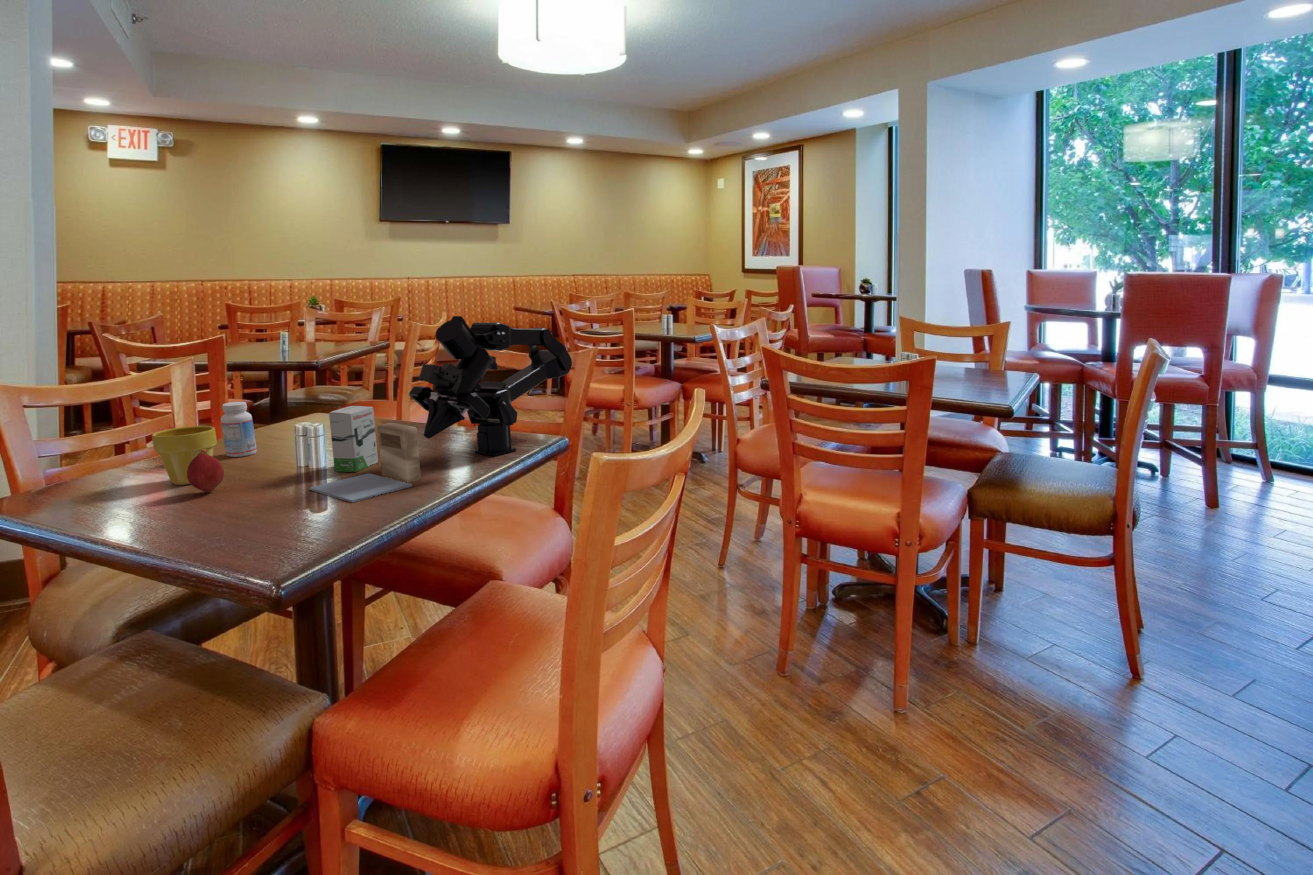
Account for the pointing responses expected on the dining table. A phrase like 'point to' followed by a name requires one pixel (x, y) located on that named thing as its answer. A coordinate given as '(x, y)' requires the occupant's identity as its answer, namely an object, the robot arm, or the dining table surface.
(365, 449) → the ink box
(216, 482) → the onion
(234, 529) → the dining table surface
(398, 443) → the maple slab
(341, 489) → the rubber mat
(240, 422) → the pill bottle
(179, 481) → the plant pot
